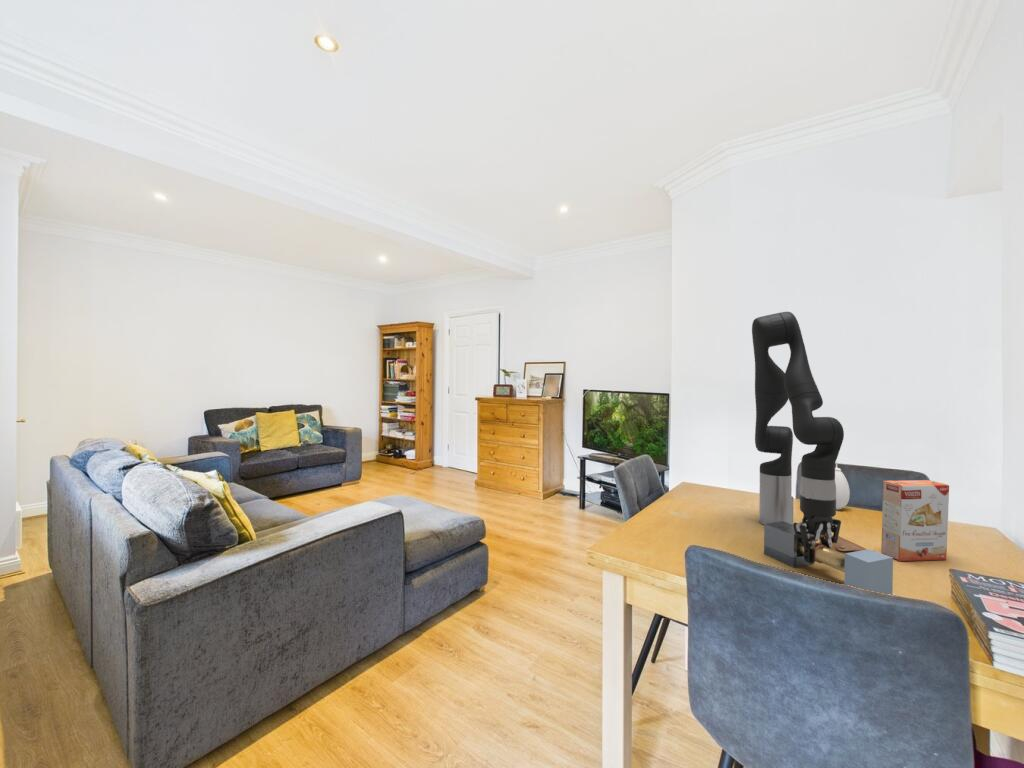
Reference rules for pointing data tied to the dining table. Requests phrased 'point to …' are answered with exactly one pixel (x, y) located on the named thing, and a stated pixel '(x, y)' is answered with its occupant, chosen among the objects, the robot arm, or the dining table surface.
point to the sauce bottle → (841, 489)
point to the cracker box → (915, 520)
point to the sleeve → (782, 544)
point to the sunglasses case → (845, 546)
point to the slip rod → (826, 556)
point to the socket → (869, 571)
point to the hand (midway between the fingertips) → (817, 560)
